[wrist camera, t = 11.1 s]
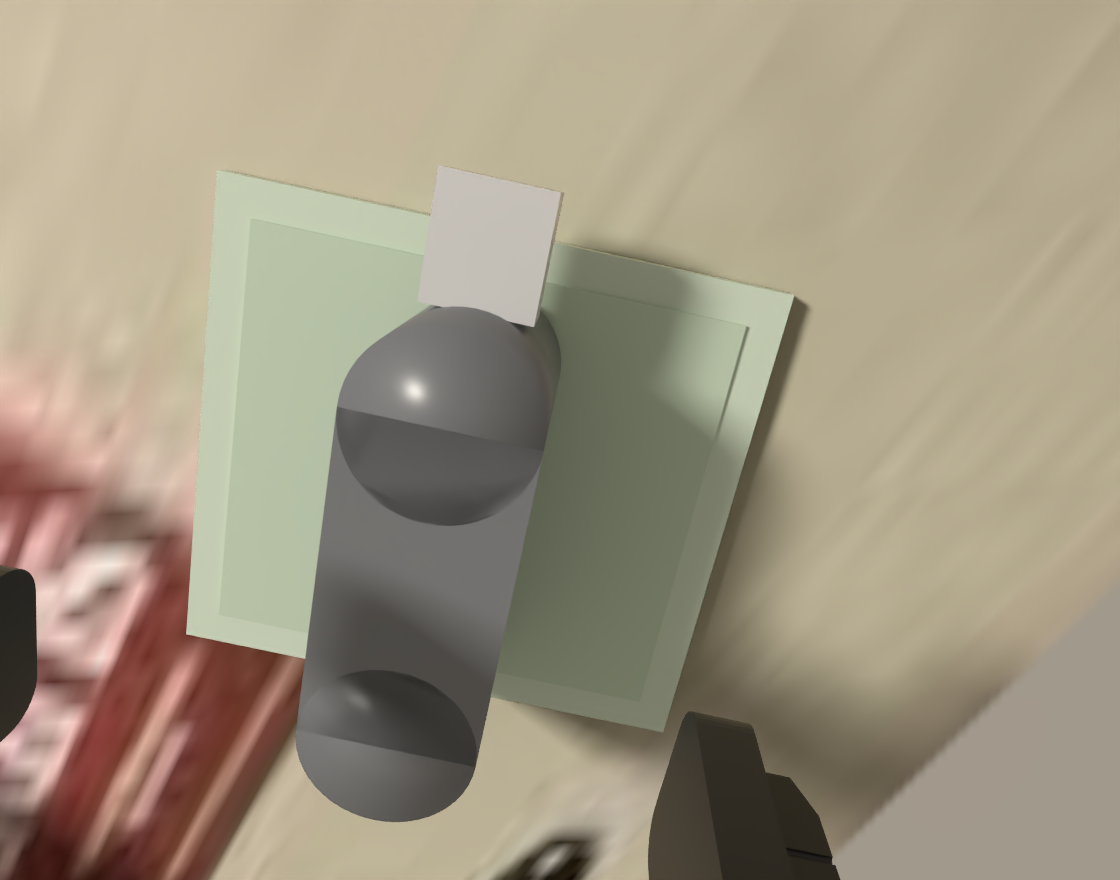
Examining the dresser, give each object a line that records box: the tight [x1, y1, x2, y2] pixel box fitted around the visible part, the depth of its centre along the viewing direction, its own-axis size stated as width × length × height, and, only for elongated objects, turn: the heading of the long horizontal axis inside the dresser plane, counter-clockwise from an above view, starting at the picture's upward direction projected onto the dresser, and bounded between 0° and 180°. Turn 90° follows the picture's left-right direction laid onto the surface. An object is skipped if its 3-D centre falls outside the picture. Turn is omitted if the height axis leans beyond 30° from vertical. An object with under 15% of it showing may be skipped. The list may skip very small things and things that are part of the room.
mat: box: [186, 170, 794, 732], centre depth 18 cm, size 11×12×1 cm
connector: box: [296, 165, 564, 822], centre depth 15 cm, size 11×3×5 cm, turn 168°
